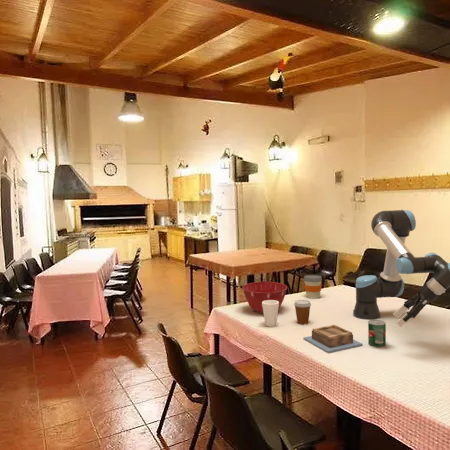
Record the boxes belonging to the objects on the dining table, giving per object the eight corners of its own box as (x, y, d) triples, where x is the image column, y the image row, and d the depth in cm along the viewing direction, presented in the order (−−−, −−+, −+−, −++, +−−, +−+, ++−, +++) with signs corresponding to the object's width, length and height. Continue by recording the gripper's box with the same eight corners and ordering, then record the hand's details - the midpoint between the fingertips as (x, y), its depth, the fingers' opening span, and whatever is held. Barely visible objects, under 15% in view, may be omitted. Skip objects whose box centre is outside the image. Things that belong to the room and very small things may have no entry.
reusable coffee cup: (304, 299, 279) (304, 278, 278) (303, 295, 291) (303, 274, 290) (322, 299, 277) (322, 278, 275) (321, 295, 289) (321, 274, 288)
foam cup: (268, 328, 220) (267, 305, 219) (259, 324, 228) (258, 301, 227) (282, 325, 224) (282, 302, 224) (273, 321, 233) (272, 299, 232)
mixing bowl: (295, 314, 245) (294, 289, 244) (250, 319, 238) (250, 293, 237) (277, 302, 273) (277, 280, 271) (237, 306, 266) (237, 283, 265)
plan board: (335, 333, 209) (335, 331, 209) (362, 345, 191) (362, 343, 191) (303, 339, 202) (303, 337, 202) (328, 353, 183) (328, 351, 183)
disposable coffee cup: (311, 325, 223) (311, 304, 222) (294, 324, 225) (293, 303, 224) (311, 320, 232) (310, 299, 232) (294, 319, 234) (294, 299, 233)
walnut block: (334, 333, 205) (334, 324, 205) (353, 342, 193) (353, 332, 192) (311, 338, 200) (311, 328, 200) (329, 347, 187) (329, 337, 187)
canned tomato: (364, 343, 194) (364, 321, 193) (377, 340, 197) (377, 318, 196) (376, 348, 187) (376, 325, 186) (389, 345, 190) (389, 323, 189)
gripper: (444, 303, 169) (406, 335, 175) (433, 289, 193) (399, 318, 199) (430, 290, 171) (392, 322, 176) (421, 278, 194) (388, 307, 200)
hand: (396, 320), depth 188 cm, fingers open, 13 cm apart
